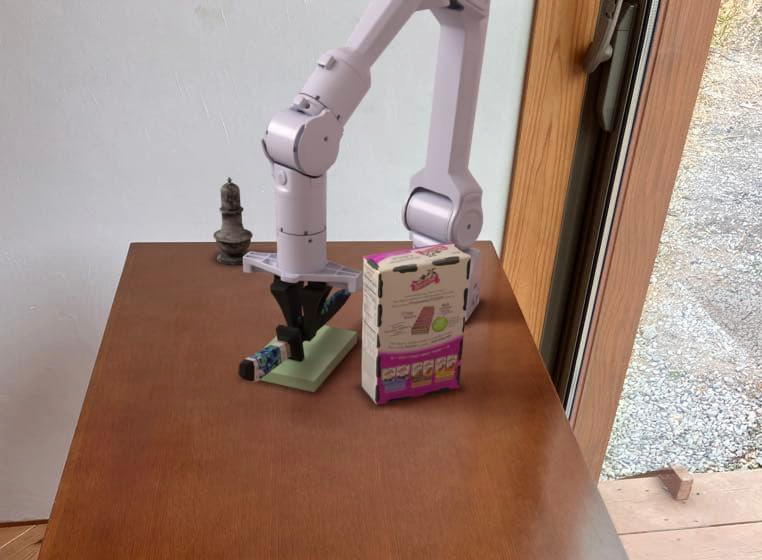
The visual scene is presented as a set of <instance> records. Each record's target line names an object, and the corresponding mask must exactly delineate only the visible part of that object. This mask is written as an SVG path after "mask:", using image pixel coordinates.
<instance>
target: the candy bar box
mask: <svg viewBox="0 0 762 560" xmlns="http://www.w3.org/2000/svg"><path fill="white" fill-rule="evenodd" d="M362 257H363V259H362V272H363V281H362V323H361V324H362V326H361V329H362V330H361V331H362V332H361V341H362V342H361V388H362V389H363V391H364V393H366V394H367V395H368V396H369V398H370V399H371V400H372V401H373V403H374V404H375V405H376V406H382V405H386V404H390V403H395V402H400V401H406V400H409V399H414V398H419V397H423V396H427V395H428V396H429V395H433V394H436V393H441V392H446V391H450V390H451V391H452V390H455V389H459V388H460V382H461V381H460V380H461V371H462V370H461V369H462V359H463V348H464V337H465V325H466V322H465V317H466V306H467V297H468V285H469V275H470V264H471V256H470V255H469V254H467V253H466V252H464V251H463V250H462V249H460V248H459V247H456V244H454V243H452V242H449V243H443V244H437V245H430V246H423V247H417V248H413V247H411V248H405V249H399V250H398V249H397V250H393V251H386V252H381V253H374V254H368V255H363V256H362Z"/></svg>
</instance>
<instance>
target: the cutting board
mask: <svg viewBox="0 0 762 560" xmlns="http://www.w3.org/2000/svg"><path fill="white" fill-rule="evenodd" d="M277 341H278V340H277V335H275V337H273V338H272V339H271V340H270V341H269V343H268V344H267V345H265V346H264V348H266V347H268V346H270V345H272V344H273V343H275V342H277ZM357 341H358V331H356V330H350V329H345V328H340V327H335V326H331V325H326V324H325V325H324V326H323V327H322V328H320V329H319V330H318V331H317V332H316V336H315V337H314V338H313V339H312V340H311V341H310V342H309V341H304V342H303V349H304V356H305V358H304V360H303V361H302V362H299V361H295V360H291V359H286V360H285V361H284V362H282V363H281V364H280V365H278V366H277V367H276V368H274V369H273V370H272V371H270V372H269V373H268V374H266V375H265V376H264V377H262V378H261V379H260V380H259V381H260V382H261V381H262V382H265V383H266V382H267V383H271V384H275V385H279V386H284V387H288V388H292V389H298V390H302V391H306V392H311V393H315V392H316V391H317V390H318V389H319V387H320V386H321V385H322V384H323V383H324V382H325V380H326V379H327V378H328V377H329V376H330V374H331V373H332V372H333V371H334V370H335V369H336V368H337V366H338V365H339V364H340V363H341V362H342V360H343V359H344V358H345V357H346V356H347V355H348V353H349V352H350V351H351V350H352V349H353V348H354V346H355V345H356V344H357V343H358V342H357Z"/></svg>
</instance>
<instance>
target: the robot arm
mask: <svg viewBox="0 0 762 560" xmlns="http://www.w3.org/2000/svg"><path fill="white" fill-rule="evenodd" d="M491 1H492V0H370V2H369V3H368V5H367V6H366V8H365V10H364V11H363V14H362V15H361V17H360V19H359V21H358V23H357V24H356V26H355V27H354V29H353V31H352V33H351V34H350V36H349V38H348V39H347V41H346V43H345V45H344V46H341V47H332V48H330V49H328V50H327V52H326V53H322V54H321V55H320V57H319V58H318V60H317V61H316V64H317V66H316V67H315V69H314V71H313V72H312V73H311V75H310V77H309V78H308V79H307V81H305V84H304V86H303V87H302V88H301V90H300V91H299V92H298V94H296V96H294V99H293V100H292V103H291V104H290V106H289V108H283V110H279V111H278V112H277V113H276V114H274V115H273V116H272V117H271V118H270V120H269V121H268V123H267V124H266V128H265V131H264V137H263V138H261V140H260V143H261V144H260V145H261V148H262V152H263V154H264V156H265V158H266V159H267V160H268V161H269V164H270V169H271V170H270V171H271V177H273V179H274V200H275V201H274V202H275V203H274V205H275V228H276V229H275V232H276V252H258V251H249V252H248V253H247V254H246V255H245V256H243V264H242V267H243V269H242V270H243V273H245V274H253V273H259V274H264V275H268V276H269V275H270V276H273V281H272V283H271V284H270V285H269V291H270V294H271V295H272V296H273V298H274V299H275V300H276V302H277V305H278V306H279V308H280V310H281V313H282V315H283V317H284V320H285V324H286V326H289V327H293V328H296V327H297V325H298V317H299V316H304V339H305V341H309V342H310V341H311V340H312V339H313V338H314V337H315V336H316V332H317V327H318V323H319V319H320V315H321V312H322V309H323V307H324V304H325V302H326V300H328V299H329V295H330V294H331V291H332V289H334V288H339V289H348V291H349V292H351V294H357V293H358V292H360V290H361V289H363V270H357V269H353V268H351V267H347V266H345V265H342V264H340V263H337V262H334V261H332V260H329V259H327V243H328V241H327V240H328V239H327V233H328V232H327V230H328V229H327V198H328V197H327V192H328V191H327V189H328V187H327V185H328V184H327V183H328V176H327V175H328V174H327V173H328V170H330V168H331V167H332V166H333V165H335V164H336V161H337V158H338V156H339V153H340V145H341V139H342V137H343V136H344V131H345V129H344V127H345V126H346V125H347V123H348V121H349V120H350V118H351V117H352V116H353V114H354V112H355V111H356V110H357V108H358V107H359V105H360V104H361V103H362V101H363V99H364V98H365V97H366V96H367V94H368V92H369V91H370V89H371V87H372V76H371V75H372V74H371V68H372V67H373V65H374V64H375V63H376V62H377V61H378V59H379V58H380V56H382V54H383V53H384V52H385V50H386V49H387V47H389V45H390V44H391V42H393V40H394V39H395V37H396V36H397V35H398V34H399V33H400V31H401V30H402V29H403V28H404V26H405V25H406V23H408V21H409V20H410V19H411V17H412V16H413V15H414V14H415V13H416V12H421V11H425V10H429V11H430V12H431V14H432V16H433V17H434V18H435V20H436V21H437V22H438V23H439V25H440V27H439V28H440V30H439V37H438V46H437V56H436V64H435V72H434V73H435V75H434V84H433V93H432V102H431V112H430V121H429V129H428V138H427V145H426V147H427V148H426V156H425V165H424V166H423V167H422V168H421V169H419V170H418V171H416V172H415V173H414V174H412V175H410V177H409V185H408V190H407V193H406V196H405V198H404V200H403V204H402V208H401V221H402V225H403V227H404V228H405V229H406V230H407V231H408V232H409V235H408V240H410V241H412V248H417V247H423V246H430V245H437V244H443V243H449V242H452V243H454V244H456V247H459V248H460V249H462V250H463V251H464V252H466V253H467V254H469V255H470V256H471V264H470V275H469V285H468V297H467V306H466V317H465V323H466V322H467V321H468V320H469V318H470V316H471V315H472V313H473V312H474V311H475V309H476V308H477V306H478V305H479V303H480V290H481V281H482V275H483V274H482V273H483V266H484V252H483V250H481V249H478V248H475V247H473V245H474V244H475V242H476V241H477V240H478V238H479V236H480V235H481V232H482V229H483V225H484V211H483V206H482V199H483V192H484V191H483V189H482V187H481V185H480V184H479V182H478V181H477V180H476V178H475V177H474V175H473V174H472V172H471V171H470V170H469V165H470V157H471V149H472V142H473V135H474V128H475V121H476V113H477V107H478V106H477V105H478V100H479V99H478V98H479V91H480V83H481V77H482V69H483V64H484V63H483V62H484V55H485V46H486V40H487V34H488V33H487V32H488V26H489V20H490V19H489V17H490V7H491ZM305 282H306V283H307V284H305Z"/></svg>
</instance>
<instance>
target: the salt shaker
mask: <svg viewBox="0 0 762 560" xmlns="http://www.w3.org/2000/svg"><path fill="white" fill-rule="evenodd" d="M226 181H227V182H226V183H224V184H222V185H221V186H220V191H219V192H220V203H221V206H220V207H219V208H218V211H219V212H220V214H221V228H220V229H218V230H216V231H215V232H213V235H212V236H213V239H215V244H216V245H217V247H218V249H219V250H220V251H222V252H220V253H219V254H218V255H217V257H216V259H217V261H218V262H219V263H222V264H224V265H228V266H229V265H231V266H239V265H243V256H245V255H246V254H247V253H249V252H248V251H247V250H248V249H249V248H250V244H251V242H252V238H253V236H254V235H253V232H252V231H250V230H249V229H246V228H245V227H244V224H243V213H242V212H244V207H243V206H241V205H242V204H241V189H240V186H239V185H238V184H236V183H234V182H232V181H233V179H232V178H231V177H230V176H228V178H227V179H226Z"/></svg>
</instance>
